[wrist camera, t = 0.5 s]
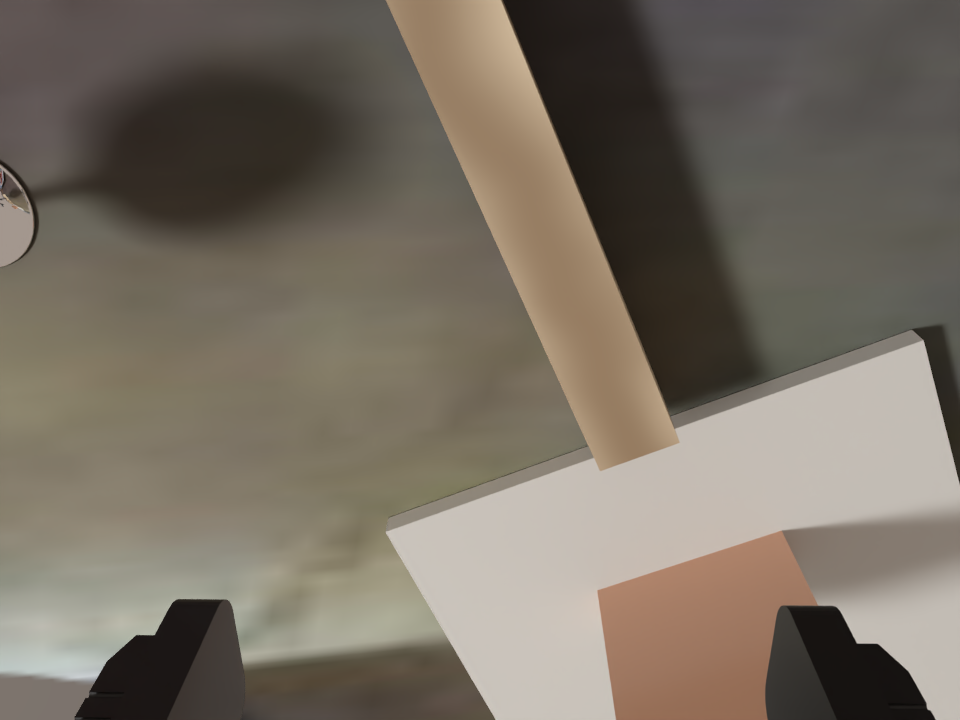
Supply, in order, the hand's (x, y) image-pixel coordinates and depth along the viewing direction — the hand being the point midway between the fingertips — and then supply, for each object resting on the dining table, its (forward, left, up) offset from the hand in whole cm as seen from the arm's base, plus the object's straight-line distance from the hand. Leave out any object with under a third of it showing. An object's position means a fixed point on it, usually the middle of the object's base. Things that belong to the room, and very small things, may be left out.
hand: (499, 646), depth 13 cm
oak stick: (-2, -2, -21) cm, 21 cm away
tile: (-2, +16, -19) cm, 25 cm away
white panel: (-2, +19, -20) cm, 28 cm away
